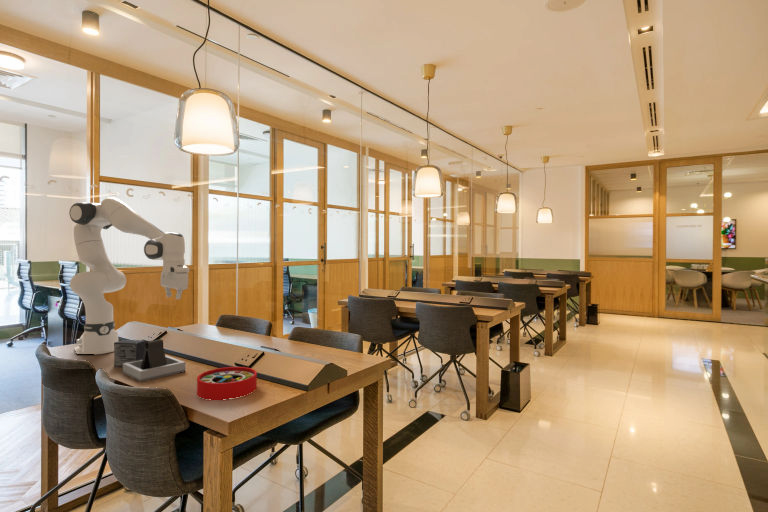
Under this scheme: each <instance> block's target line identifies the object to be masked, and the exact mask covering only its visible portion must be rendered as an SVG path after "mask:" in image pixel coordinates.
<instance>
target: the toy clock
mask: <svg viewBox="0 0 768 512" xmlns="http://www.w3.org/2000/svg"><path fill="white" fill-rule="evenodd" d="M257 372H258V371H256V370H255V369H253V368H250V367H245V366H227V367H219V368H215V369H211V370H207V371H204V372H202V373H199V375H198V376H197V378H196V396H197V395H198V396H199V397H201V398H204V399H203V400H205V399H211V400H223V399H229V398H236V397H240V396H244V395H247V394H249V393H251V392H253V391H254V390H255V389H256V388H257V387H258V383H257V382H258V377H257V376H258V375H257V374H258V373H257ZM256 390H257V389H256ZM253 393H254V392H253ZM198 396H197V397H198ZM247 396H248V395H247ZM199 397H198V398H199ZM201 398H200V399H201ZM211 400H210V401H211ZM223 401H224V400H223Z"/></svg>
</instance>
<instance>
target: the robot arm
mask: <svg viewBox="0 0 768 512" xmlns="http://www.w3.org/2000/svg"><path fill="white" fill-rule="evenodd" d="M68 214H69V217H70V220H71V221H72V222H74V223H75V225H74V226H73V240H74V245H75V248H76V253H77V257H78V260H79V262H80V263H81V264H83V265H84V266H86V267H87V268H89V269H90V271H83V272H79V273H76V274H74V275H73V276H72V277H71V278H70V281H69V287H70V289H71V291H72V292H73V293H74V294H76V296H78V297H79V298H80V300H81V301H82V302H83V305H84V310H85V323H84V325H83V330H84V331H83V333H82V334H81V336H80V337H79V338H77V339H76V344H77V345H78V346H74V349H75V350H74V352H75V351H76V352H75V354H76V353H77V354H94V355H103V354H108V353H113V352H114V342H118V341H119V332H118V331H117V330H115V328H116V327H115V324H116V323H115V320H114V306H113V304H112V303H111V302H110V301H107V300H106V298H105V295H104V294H107V293H108V294H109V293H115V292H117V291H121V290H122V289H123V288H125V286H126V285H127V277H126V275H125V273H124V272H122V271H120V270H119V269H118V268H117V267H115V266H114V264H113V263H112V262H111V260H110V258H109V256H108V254H107V252H106V248H105V244H104V242H103V237H102V234H101V232H102V229H104V230H108V229H110V228H111V227H114V228H115V229H117V230H119V231H121V232H122V233H126V234H130V235H137V236H143V237H145V238H148V240H147V241H146V242H145V244H144V246H143V252H144V256H146V258H147V259H149V260H153V261H162V270H161V272H160V273H161V274H160V287H164V290H165V294H166V295H165V297H167V298H171V297H172V291H171V289H175V290H176V295H175V300H182V294H183V291H184V290H187V289H188V287H189V273H190V267H188V266H187V265H186V261H185V260H186V259H185V252H186V250H185V249H186V245H185V244H186V241H185V237H184V235H183V234H181V233H179V232H174V231H166V232H164V231H162V230H161V229H160V228H158V227H157V226H155V225H154V224H152V223H151V222H149V221H148V220H147V219H145V218H144V217H142V216H141V215H140V214H139V213H137V212H136V211H135V210H134V209H133V208H131V207H130V206H129V205H128V204H126V203H125V202H124V201H122V200H120V199H118V198H117V197H106V198H104V199H103V200H102V201H101V202H100V203H99V202H85V201H79V202H75V203H73V204H72V205H71V207H70V208H69V213H68Z"/></svg>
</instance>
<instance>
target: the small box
mask: <svg viewBox="0 0 768 512" xmlns="http://www.w3.org/2000/svg"><path fill="white" fill-rule="evenodd" d="M145 342H147V340H143V339H141V340H140V339H122V340H118V342H114V351H113V352H114V355H113V356H114V359H113V360H114V361H113V362H114V363H113V367H115V368H123V363H128V362H133V361H138V360H143V356H144V351H145Z"/></svg>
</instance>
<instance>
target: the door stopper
mask: <svg viewBox="0 0 768 512" xmlns="http://www.w3.org/2000/svg"><path fill="white" fill-rule="evenodd" d="M165 353H166V352H165V349H164V340H163V339H161V338H159V339H155V340H149V341H146V342H145V351H144V356H143V360H142V365H141V369H142V370H145V369H150V368H155V367H160V366H164V365H167V362H166V358H165V355H166V354H165Z"/></svg>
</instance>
